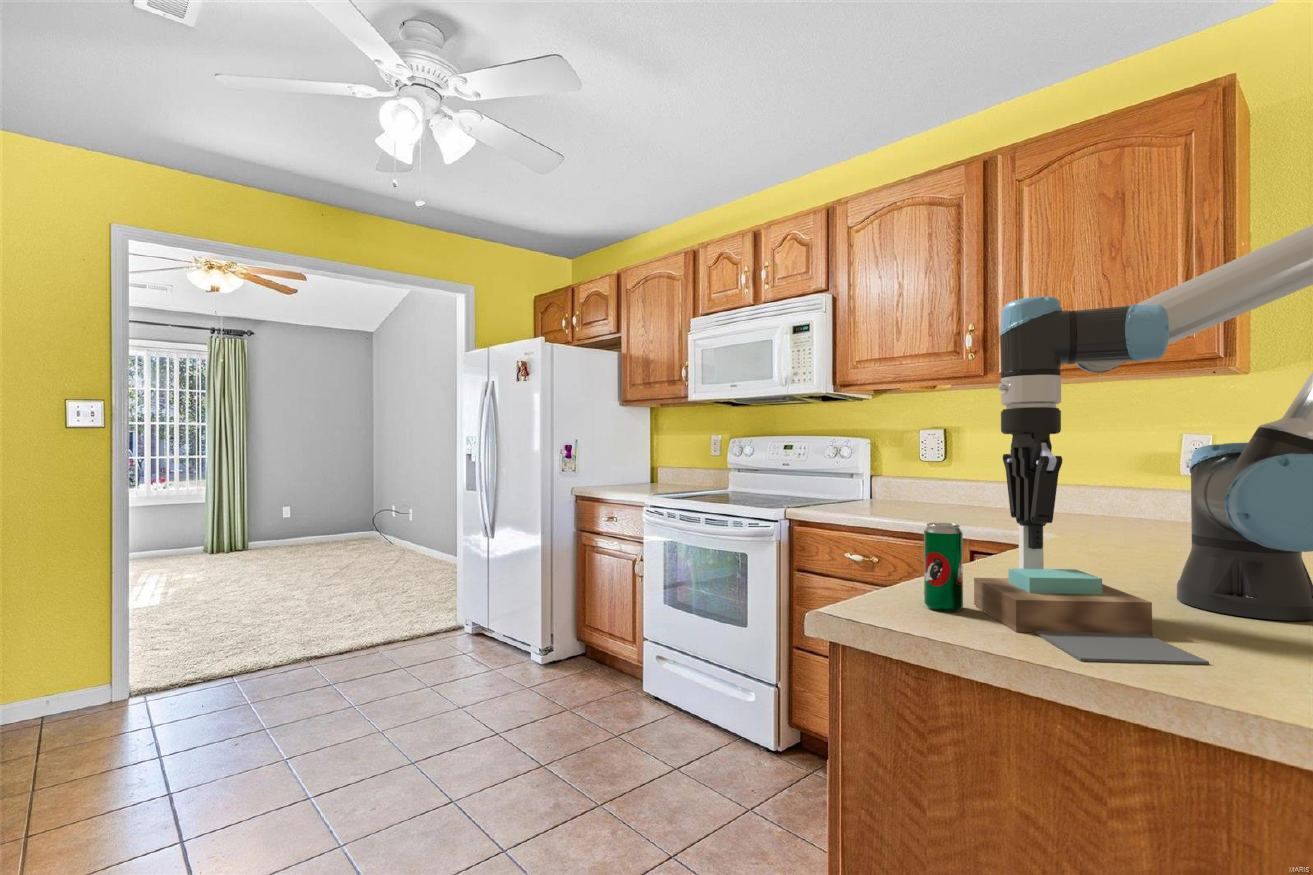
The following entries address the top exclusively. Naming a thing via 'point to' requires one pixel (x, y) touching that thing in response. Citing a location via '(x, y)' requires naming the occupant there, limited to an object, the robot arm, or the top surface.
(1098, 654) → the mat
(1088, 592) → the teal rectangular block
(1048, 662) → the top surface
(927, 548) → the soda can
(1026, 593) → the brown wooden flat block
